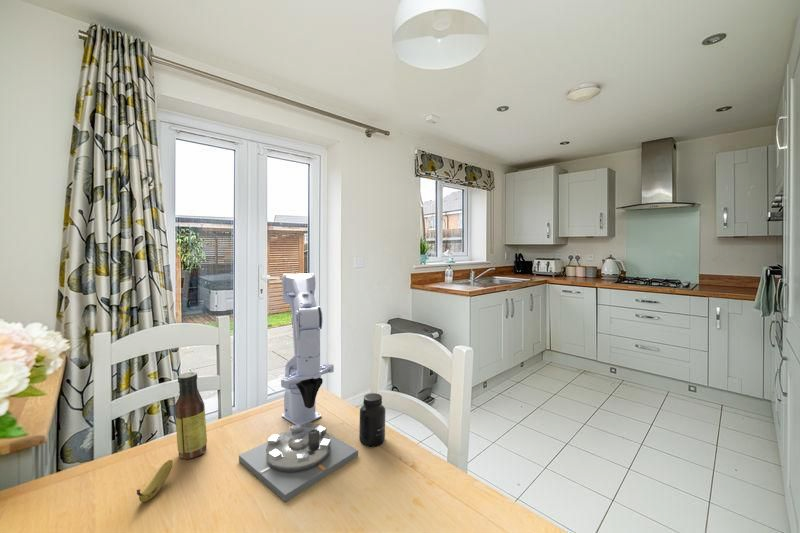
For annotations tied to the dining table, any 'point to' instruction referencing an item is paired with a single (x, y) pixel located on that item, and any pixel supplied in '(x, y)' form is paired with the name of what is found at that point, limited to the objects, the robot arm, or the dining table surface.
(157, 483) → the banana
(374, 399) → the supplement bottle
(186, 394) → the sauce bottle
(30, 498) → the dining table surface
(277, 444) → the grey turntable disc
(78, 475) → the dining table surface
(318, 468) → the boss plate
